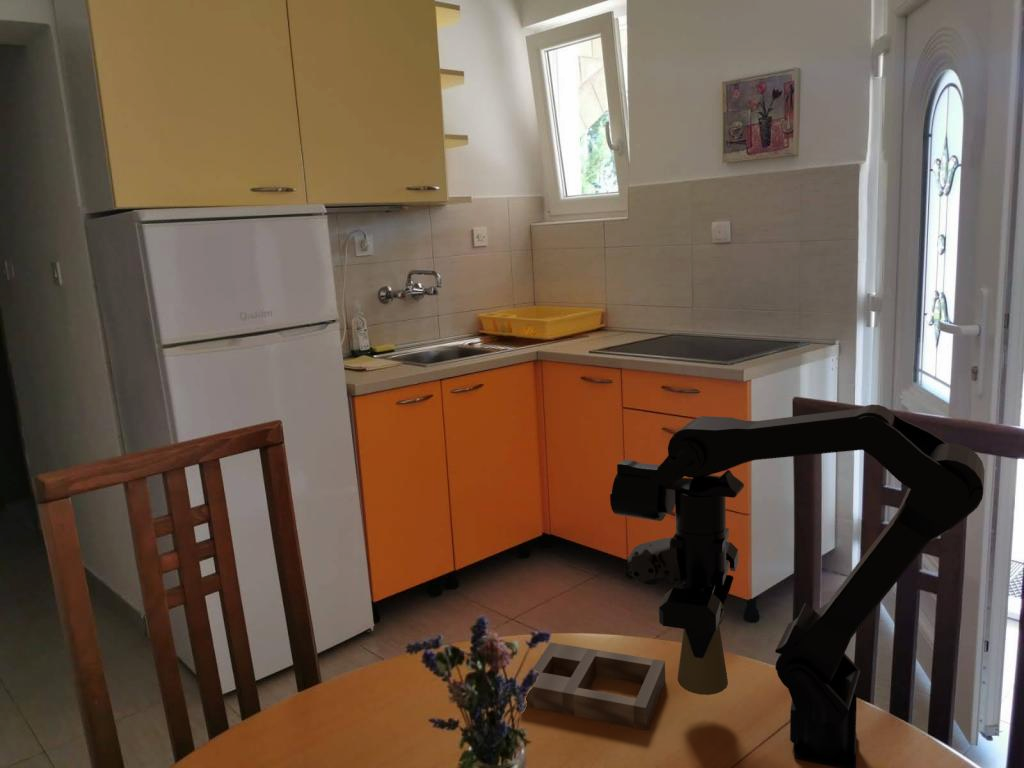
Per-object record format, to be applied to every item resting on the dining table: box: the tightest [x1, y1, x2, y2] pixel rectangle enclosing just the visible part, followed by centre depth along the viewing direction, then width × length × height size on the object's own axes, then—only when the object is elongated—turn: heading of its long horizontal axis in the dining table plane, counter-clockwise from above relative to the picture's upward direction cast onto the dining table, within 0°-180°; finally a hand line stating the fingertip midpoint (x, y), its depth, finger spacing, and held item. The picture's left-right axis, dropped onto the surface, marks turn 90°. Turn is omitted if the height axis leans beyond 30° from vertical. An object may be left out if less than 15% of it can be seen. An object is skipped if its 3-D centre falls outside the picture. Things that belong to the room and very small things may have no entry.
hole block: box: [526, 641, 666, 731], centre depth 103 cm, size 16×11×3 cm, turn 67°
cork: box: [677, 603, 729, 696], centre depth 95 cm, size 6×6×11 cm
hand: (702, 646), depth 95 cm, fingers closed on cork, 4 cm apart
